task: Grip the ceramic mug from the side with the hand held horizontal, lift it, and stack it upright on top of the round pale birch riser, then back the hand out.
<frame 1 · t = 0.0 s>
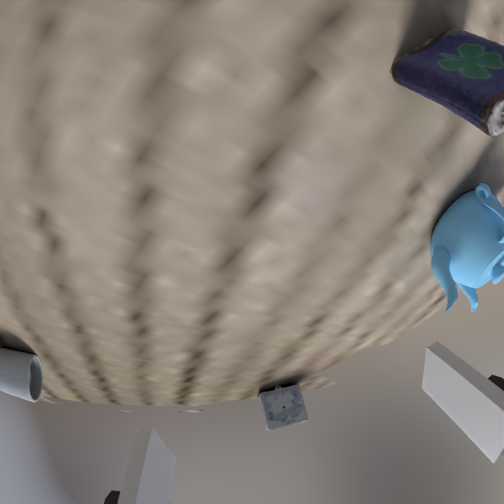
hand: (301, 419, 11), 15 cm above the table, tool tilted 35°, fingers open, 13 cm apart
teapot: (455, 225, 31), on the table
flask: (427, 54, 14), on the table
ceramic mug: (22, 355, 31), on the table
incense holder: (276, 388, 62), on the table
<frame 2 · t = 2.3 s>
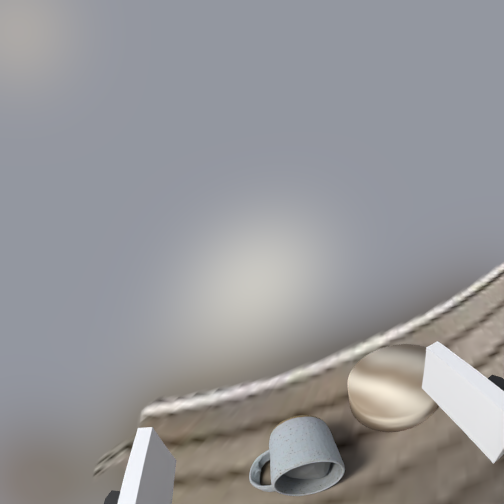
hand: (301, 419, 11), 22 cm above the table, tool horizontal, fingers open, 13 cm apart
ceramic mug: (297, 474, 25), on the table
birch riser: (396, 394, 32), on the table
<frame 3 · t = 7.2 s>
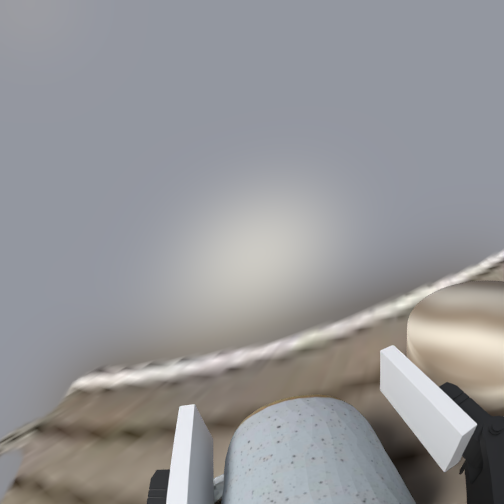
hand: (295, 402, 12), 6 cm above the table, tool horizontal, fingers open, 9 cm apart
birch riser: (480, 358, 16), on the table
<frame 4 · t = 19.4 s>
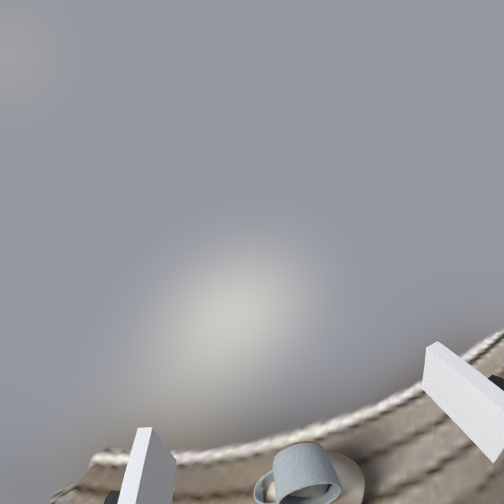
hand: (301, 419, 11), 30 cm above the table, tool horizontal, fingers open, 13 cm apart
ceramic mug: (297, 492, 25), point 3 cm above the table, touching birch riser
birch riser: (313, 498, 26), on the table, touching ceramic mug
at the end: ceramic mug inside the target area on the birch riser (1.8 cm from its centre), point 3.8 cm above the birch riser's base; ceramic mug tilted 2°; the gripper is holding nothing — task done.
